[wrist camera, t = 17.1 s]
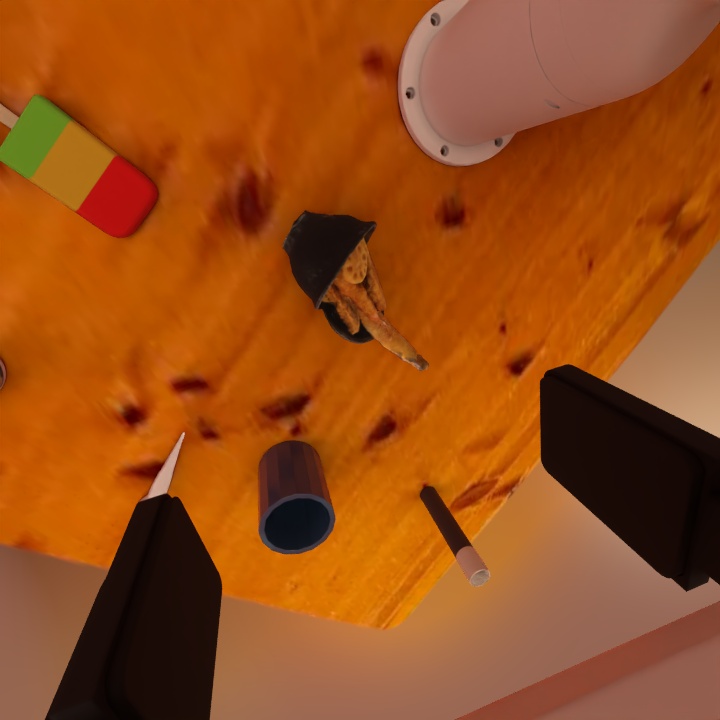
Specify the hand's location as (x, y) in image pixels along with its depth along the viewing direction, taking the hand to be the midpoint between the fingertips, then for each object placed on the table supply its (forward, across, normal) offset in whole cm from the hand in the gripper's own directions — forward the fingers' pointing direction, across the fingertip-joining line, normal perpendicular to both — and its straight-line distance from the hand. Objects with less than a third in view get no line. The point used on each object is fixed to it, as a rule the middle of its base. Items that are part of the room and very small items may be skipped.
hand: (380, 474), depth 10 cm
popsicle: (+30, +15, -14) cm, 36 cm away
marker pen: (+30, -10, +31) cm, 44 cm away
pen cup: (+30, +6, +20) cm, 36 cm away
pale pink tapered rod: (+30, +19, +18) cm, 39 cm away
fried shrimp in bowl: (+30, -6, +3) cm, 31 cm away
